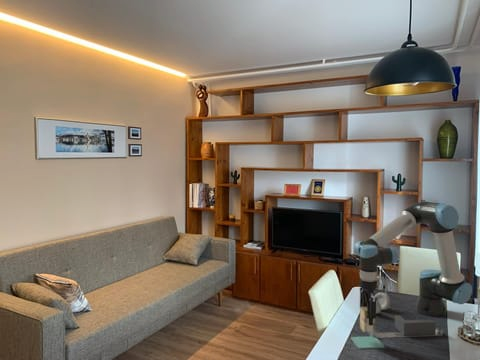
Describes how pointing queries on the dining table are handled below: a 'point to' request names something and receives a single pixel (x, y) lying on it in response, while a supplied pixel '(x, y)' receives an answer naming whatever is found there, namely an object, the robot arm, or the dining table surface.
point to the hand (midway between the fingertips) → (367, 328)
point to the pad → (367, 342)
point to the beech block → (365, 319)
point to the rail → (399, 334)
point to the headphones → (382, 298)
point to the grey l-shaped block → (415, 326)
